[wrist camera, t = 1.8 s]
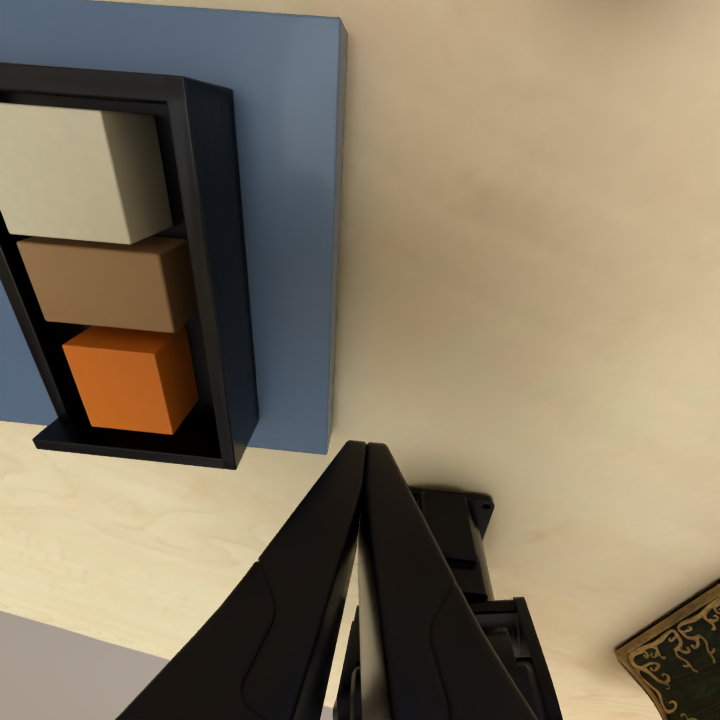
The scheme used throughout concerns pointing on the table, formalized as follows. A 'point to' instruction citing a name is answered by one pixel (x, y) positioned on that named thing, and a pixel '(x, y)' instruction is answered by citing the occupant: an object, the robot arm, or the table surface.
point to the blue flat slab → (257, 180)
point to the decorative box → (680, 660)
